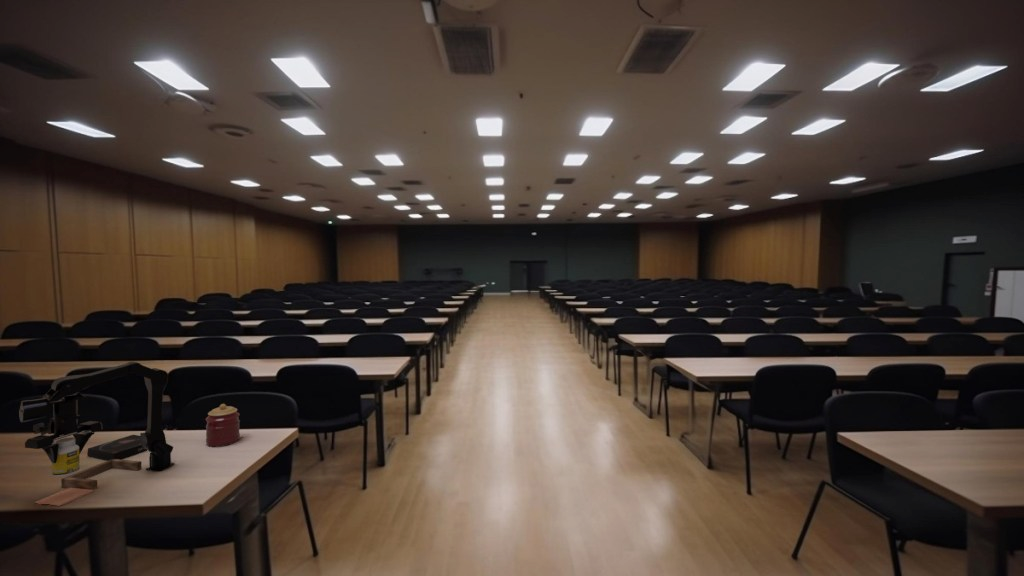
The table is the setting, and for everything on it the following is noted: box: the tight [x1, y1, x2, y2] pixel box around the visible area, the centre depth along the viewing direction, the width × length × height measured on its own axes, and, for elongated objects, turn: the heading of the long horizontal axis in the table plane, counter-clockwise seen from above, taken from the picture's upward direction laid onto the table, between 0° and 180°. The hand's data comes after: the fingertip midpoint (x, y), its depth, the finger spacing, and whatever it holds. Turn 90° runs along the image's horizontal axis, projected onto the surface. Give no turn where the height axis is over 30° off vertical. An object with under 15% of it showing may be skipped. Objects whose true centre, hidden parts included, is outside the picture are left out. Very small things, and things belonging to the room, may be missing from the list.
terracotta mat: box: [34, 488, 94, 507], centre depth 145 cm, size 10×10×1 cm
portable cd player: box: [86, 434, 148, 462], centre depth 183 cm, size 16×17×4 cm
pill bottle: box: [51, 436, 80, 478], centre depth 146 cm, size 6×6×12 cm
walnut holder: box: [61, 459, 142, 491], centre depth 160 cm, size 14×17×3 cm
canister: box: [205, 403, 241, 447], centre depth 195 cm, size 13×13×18 cm
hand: (66, 458), depth 146 cm, fingers closed on pill bottle, 6 cm apart
